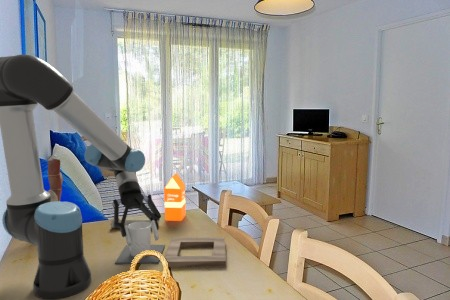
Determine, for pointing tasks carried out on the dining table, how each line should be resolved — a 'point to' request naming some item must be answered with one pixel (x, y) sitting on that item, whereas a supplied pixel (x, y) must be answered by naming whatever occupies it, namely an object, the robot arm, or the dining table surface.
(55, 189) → the vase
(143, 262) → the rubber mat
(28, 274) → the dining table surface
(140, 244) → the white cup
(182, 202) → the orange juice
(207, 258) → the puzzle board
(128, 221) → the dog toy
